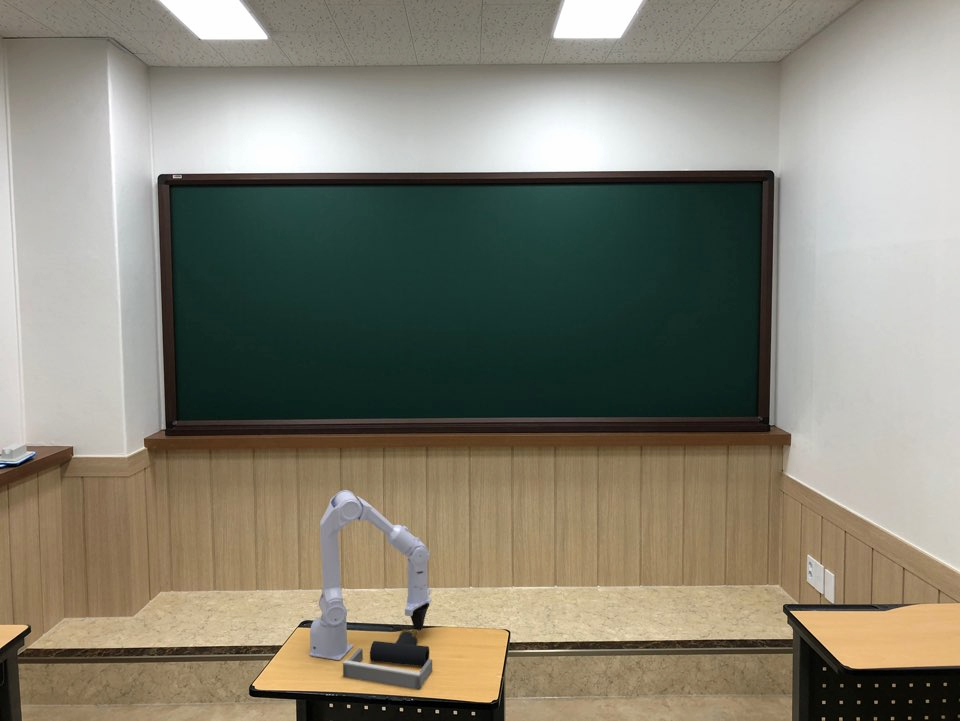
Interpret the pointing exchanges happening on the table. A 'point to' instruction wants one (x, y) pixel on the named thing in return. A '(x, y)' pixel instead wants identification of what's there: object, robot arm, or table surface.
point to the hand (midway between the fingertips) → (418, 628)
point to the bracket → (385, 672)
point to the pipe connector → (400, 650)
